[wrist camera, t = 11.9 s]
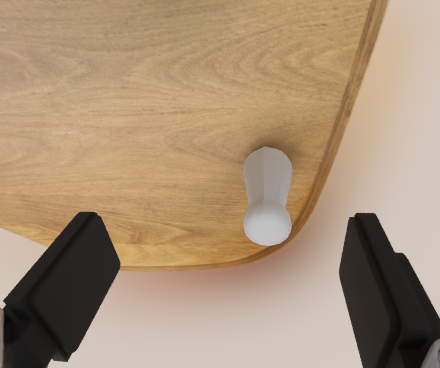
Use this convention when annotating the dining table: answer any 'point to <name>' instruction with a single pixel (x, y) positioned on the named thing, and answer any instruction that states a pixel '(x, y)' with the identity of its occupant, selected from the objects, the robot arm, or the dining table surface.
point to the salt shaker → (267, 196)
